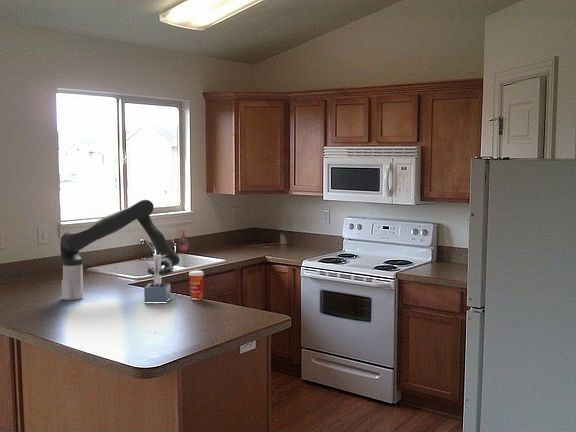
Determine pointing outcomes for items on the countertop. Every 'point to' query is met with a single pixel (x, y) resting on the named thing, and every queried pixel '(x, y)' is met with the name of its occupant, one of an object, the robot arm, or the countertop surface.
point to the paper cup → (196, 284)
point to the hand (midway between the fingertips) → (156, 273)
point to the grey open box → (157, 293)
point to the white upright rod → (157, 270)
